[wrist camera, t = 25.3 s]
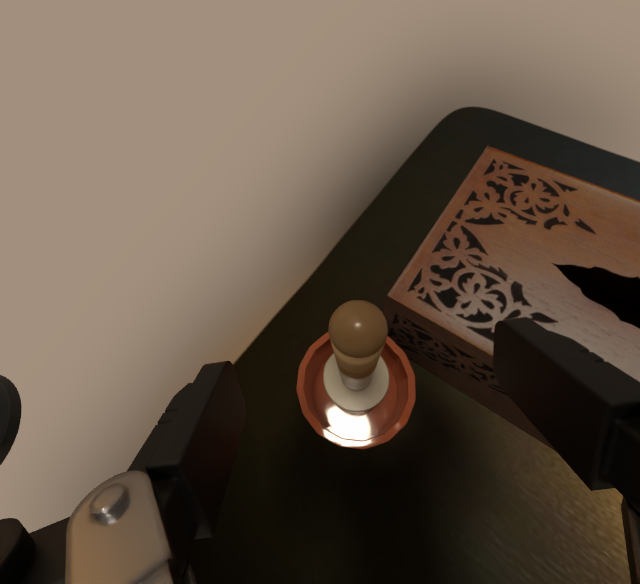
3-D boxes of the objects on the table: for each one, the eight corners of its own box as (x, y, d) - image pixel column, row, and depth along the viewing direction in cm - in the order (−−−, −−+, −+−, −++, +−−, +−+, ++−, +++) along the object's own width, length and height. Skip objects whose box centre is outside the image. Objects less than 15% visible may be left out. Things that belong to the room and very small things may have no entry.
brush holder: (324, 457, 25) (316, 466, 19) (298, 361, 28) (284, 346, 23) (418, 425, 25) (436, 425, 19) (381, 334, 28) (388, 312, 23)
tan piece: (340, 422, 25) (313, 416, 9) (322, 370, 27) (273, 283, 10) (390, 404, 25) (458, 362, 9) (370, 353, 27) (394, 241, 11)
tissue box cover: (376, 337, 28) (387, 295, 19) (449, 225, 32) (487, 145, 23) (716, 551, 20) (1014, 654, 11) (758, 367, 24) (1003, 332, 15)
